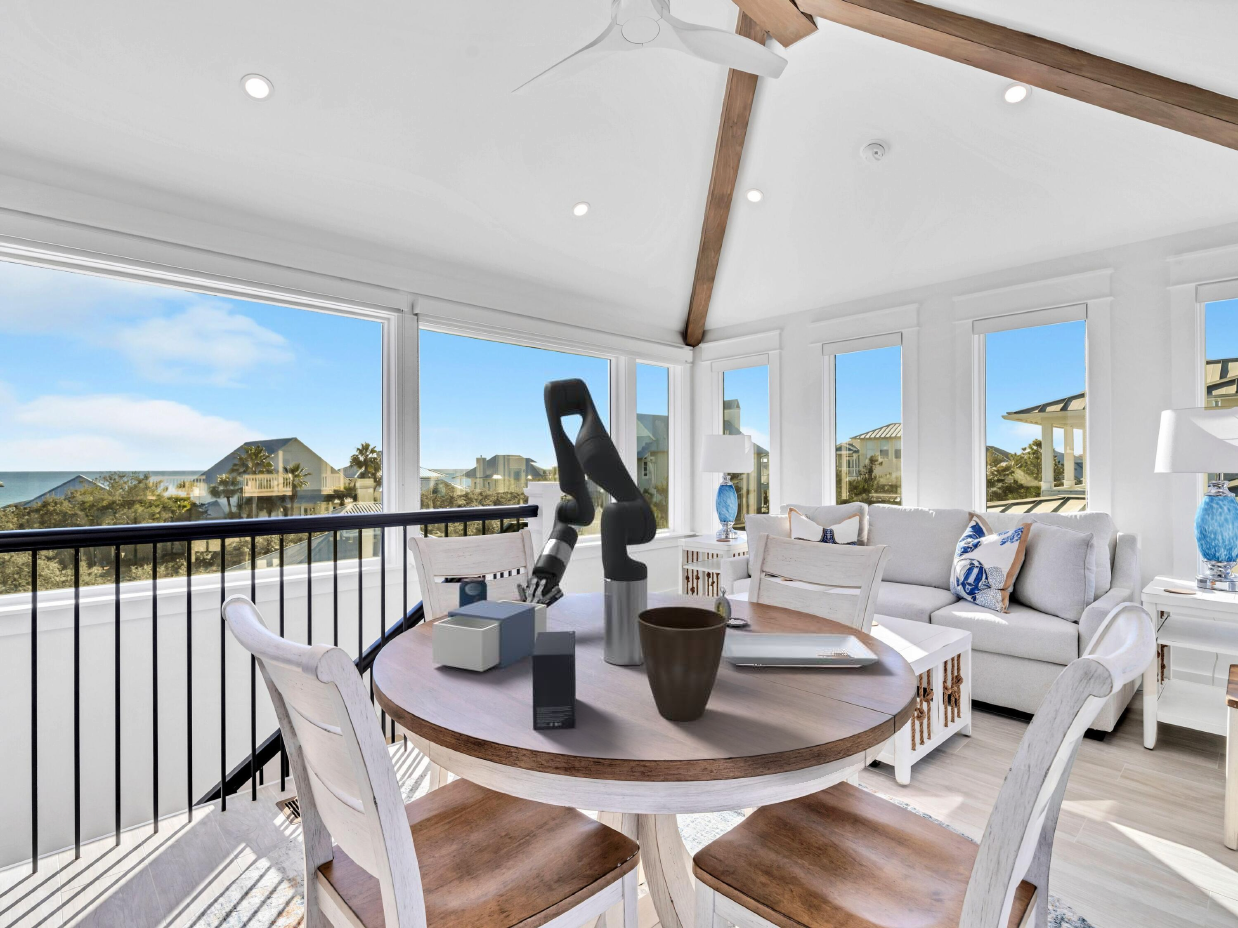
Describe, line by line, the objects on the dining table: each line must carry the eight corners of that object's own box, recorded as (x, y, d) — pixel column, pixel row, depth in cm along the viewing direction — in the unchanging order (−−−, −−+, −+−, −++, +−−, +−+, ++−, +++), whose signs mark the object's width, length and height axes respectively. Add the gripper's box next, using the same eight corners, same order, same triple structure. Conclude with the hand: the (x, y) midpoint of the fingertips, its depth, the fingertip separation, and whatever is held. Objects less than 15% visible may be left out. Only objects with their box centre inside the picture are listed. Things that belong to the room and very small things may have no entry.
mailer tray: (546, 639, 143) (546, 604, 143) (481, 671, 121) (482, 630, 121) (502, 633, 148) (502, 599, 148) (432, 662, 126) (432, 623, 126)
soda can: (480, 629, 154) (481, 581, 154) (454, 628, 155) (454, 580, 155) (491, 622, 161) (491, 576, 161) (465, 621, 162) (465, 575, 162)
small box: (536, 698, 109) (537, 630, 109) (575, 697, 110) (575, 630, 110) (531, 730, 96) (531, 653, 96) (575, 729, 97) (576, 652, 97)
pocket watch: (751, 623, 161) (751, 585, 161) (739, 630, 154) (739, 590, 154) (721, 619, 166) (721, 581, 166) (708, 626, 159) (709, 587, 159)
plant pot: (744, 711, 104) (744, 615, 104) (692, 740, 93) (693, 633, 93) (672, 689, 114) (672, 602, 114) (618, 713, 103) (618, 617, 103)
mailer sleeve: (534, 651, 136) (535, 606, 136) (502, 667, 125) (503, 618, 125) (482, 643, 142) (482, 600, 142) (447, 658, 131) (447, 611, 131)
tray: (881, 674, 123) (881, 657, 123) (722, 671, 125) (722, 654, 125) (853, 649, 140) (853, 633, 140) (713, 647, 142) (713, 631, 142)
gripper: (524, 551, 157) (495, 609, 146) (570, 554, 151) (543, 615, 140) (536, 568, 162) (508, 626, 151) (580, 572, 156) (555, 633, 145)
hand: (525, 621), depth 146 cm, fingers closed
